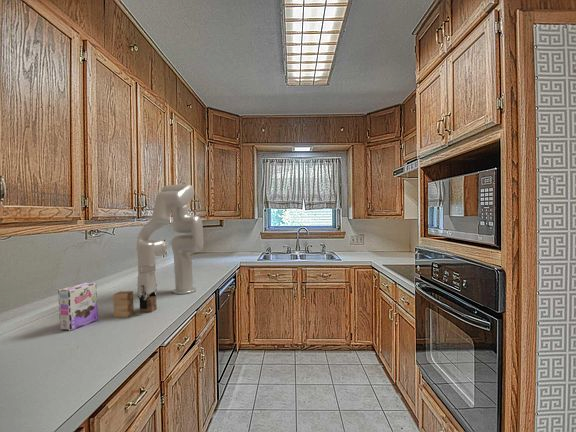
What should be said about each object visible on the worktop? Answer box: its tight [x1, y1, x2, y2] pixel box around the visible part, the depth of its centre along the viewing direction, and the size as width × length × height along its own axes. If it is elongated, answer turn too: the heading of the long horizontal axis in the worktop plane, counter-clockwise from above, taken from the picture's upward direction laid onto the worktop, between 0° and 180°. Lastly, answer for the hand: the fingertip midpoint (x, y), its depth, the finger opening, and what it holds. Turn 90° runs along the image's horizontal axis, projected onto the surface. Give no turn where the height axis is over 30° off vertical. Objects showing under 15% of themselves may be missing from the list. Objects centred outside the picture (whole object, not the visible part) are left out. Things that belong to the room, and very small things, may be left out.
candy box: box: [57, 282, 99, 332], centre depth 153 cm, size 14×6×16 cm, turn 161°
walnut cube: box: [140, 296, 158, 313], centre depth 171 cm, size 5×5×6 cm
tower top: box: [112, 290, 134, 307], centre depth 166 cm, size 6×6×5 cm
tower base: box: [113, 302, 135, 318], centre depth 166 cm, size 6×6×5 cm
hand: (148, 305), depth 171 cm, fingers open, 9 cm apart
